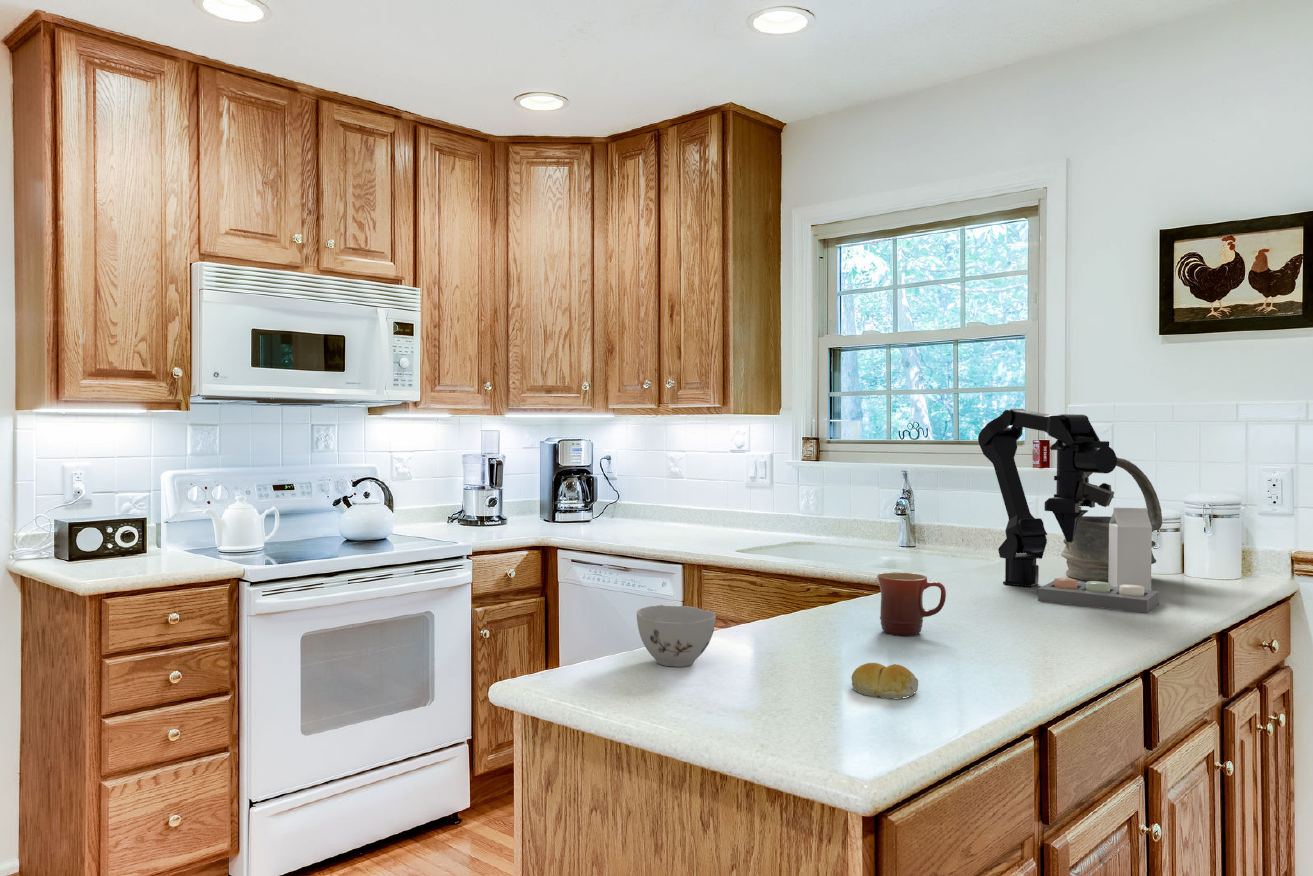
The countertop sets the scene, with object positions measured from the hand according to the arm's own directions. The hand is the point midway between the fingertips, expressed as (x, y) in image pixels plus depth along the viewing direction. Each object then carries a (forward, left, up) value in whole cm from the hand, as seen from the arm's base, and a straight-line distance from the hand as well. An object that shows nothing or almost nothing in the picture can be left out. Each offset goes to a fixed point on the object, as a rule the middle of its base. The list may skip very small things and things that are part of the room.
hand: (1069, 542), depth 203 cm
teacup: (-34, -99, -12) cm, 105 cm away
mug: (-13, -57, -12) cm, 60 cm away
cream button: (+13, -3, -11) cm, 17 cm away
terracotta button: (0, -3, -11) cm, 11 cm away
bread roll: (-2, -94, -12) cm, 95 cm away
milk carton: (+9, +16, -12) cm, 22 cm away
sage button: (+7, -3, -11) cm, 13 cm away
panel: (+6, -3, -12) cm, 14 cm away
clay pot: (+1, +33, -12) cm, 35 cm away
